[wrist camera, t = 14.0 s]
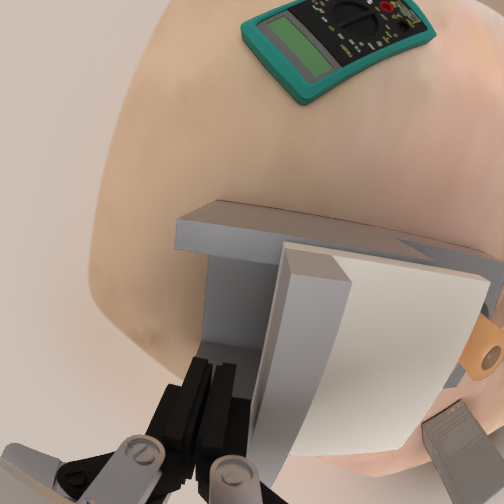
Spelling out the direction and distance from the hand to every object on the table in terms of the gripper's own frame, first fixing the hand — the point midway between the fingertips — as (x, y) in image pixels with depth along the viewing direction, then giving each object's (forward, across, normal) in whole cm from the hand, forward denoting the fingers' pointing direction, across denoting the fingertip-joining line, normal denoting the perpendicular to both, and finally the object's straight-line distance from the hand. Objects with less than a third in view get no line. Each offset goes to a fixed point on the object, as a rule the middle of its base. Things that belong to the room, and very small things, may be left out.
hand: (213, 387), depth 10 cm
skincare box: (+11, -30, +17) cm, 36 cm away
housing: (+11, -9, 0) cm, 14 cm away
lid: (+2, -7, 0) cm, 7 cm away
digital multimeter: (+12, -5, -21) cm, 24 cm away
